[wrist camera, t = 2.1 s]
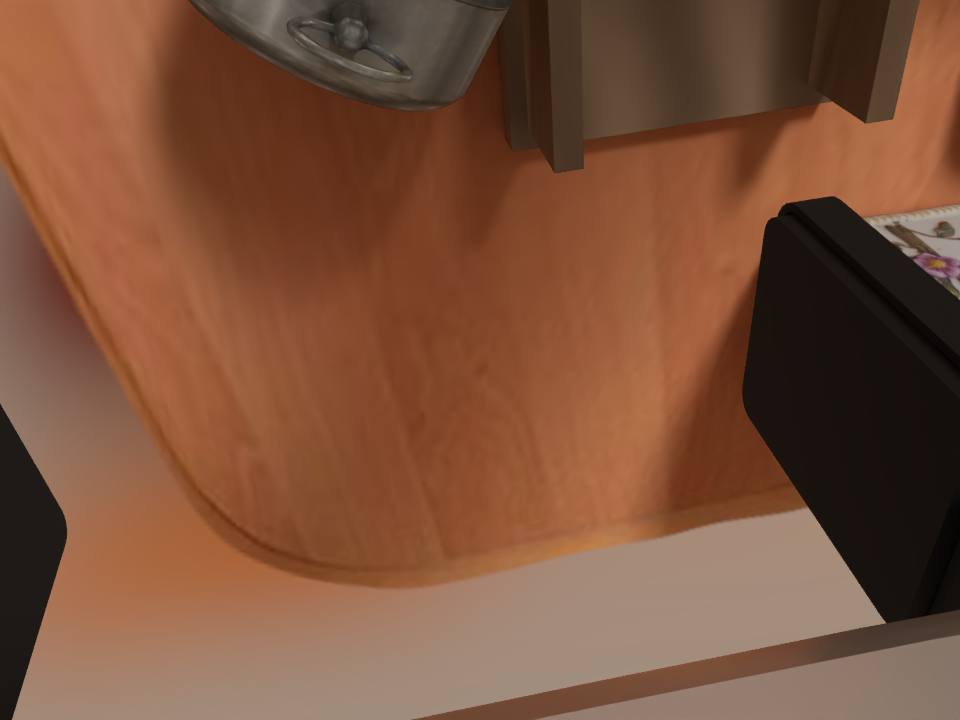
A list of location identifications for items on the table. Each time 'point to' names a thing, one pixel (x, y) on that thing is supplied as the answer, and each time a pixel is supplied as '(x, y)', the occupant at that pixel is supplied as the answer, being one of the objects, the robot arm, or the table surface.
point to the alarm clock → (368, 44)
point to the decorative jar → (927, 240)
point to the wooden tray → (690, 64)
